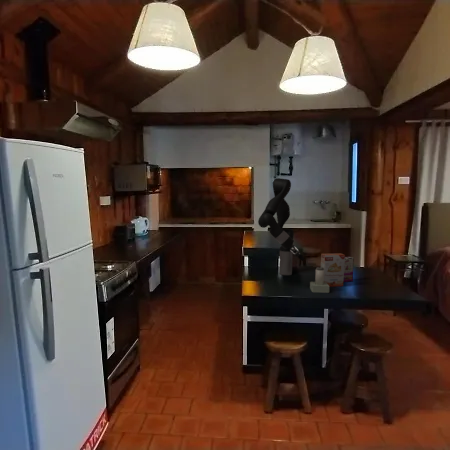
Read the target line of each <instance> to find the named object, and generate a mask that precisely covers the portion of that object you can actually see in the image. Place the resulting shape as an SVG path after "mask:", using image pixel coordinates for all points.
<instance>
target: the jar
mask: <svg viewBox="0 0 450 450" xmlns="http://www.w3.org/2000/svg"><path fill="white" fill-rule="evenodd" d="M314 275H315V277H314V278H315V279H314V282H315V284H316V285H324V268H322V267H321V266H320V267H319V266H317V267H316V268H315V274H314Z"/></svg>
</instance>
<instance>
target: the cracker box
mask: <svg viewBox="0 0 450 450" xmlns="http://www.w3.org/2000/svg"><path fill="white" fill-rule="evenodd" d="M320 254H321V255H320V259H321V260H320V267H322V268H324V282H326V283H327V284H328V285H329V288H331V287H333V288H334V287H344V282H343V280H344V264H345V257H346V255H345V254H343V253H339V252H338V253H320Z"/></svg>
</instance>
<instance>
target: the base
mask: <svg viewBox="0 0 450 450" xmlns="http://www.w3.org/2000/svg"><path fill="white" fill-rule="evenodd" d="M309 289H310V291H311V292H312V293H325V294H326V293H327V294H328V293H330V287H329V285H328V284H327V283H326V282H324V285H316V284H315V281H309Z"/></svg>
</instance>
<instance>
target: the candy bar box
mask: <svg viewBox="0 0 450 450" xmlns="http://www.w3.org/2000/svg"><path fill="white" fill-rule="evenodd" d="M354 260H355V257H353V256H345V264H344V280H343V283H348V282H349V283H350V282H353V281H354Z"/></svg>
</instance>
